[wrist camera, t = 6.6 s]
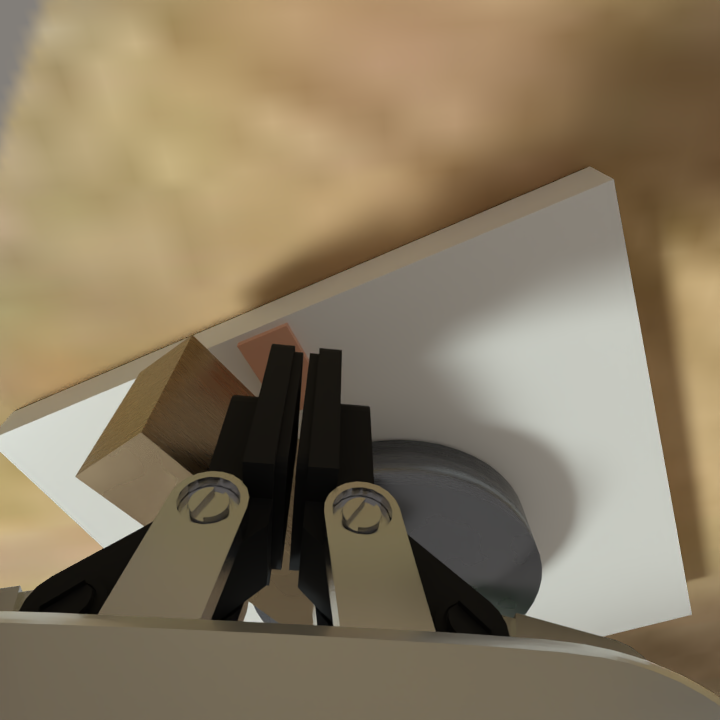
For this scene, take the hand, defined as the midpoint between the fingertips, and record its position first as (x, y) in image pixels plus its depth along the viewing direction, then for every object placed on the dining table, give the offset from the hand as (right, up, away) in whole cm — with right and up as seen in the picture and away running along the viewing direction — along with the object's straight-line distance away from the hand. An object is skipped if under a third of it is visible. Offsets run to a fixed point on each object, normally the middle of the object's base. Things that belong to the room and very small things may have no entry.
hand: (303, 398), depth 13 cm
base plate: (+3, -5, +8) cm, 10 cm away
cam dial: (+1, -4, +6) cm, 7 cm away
